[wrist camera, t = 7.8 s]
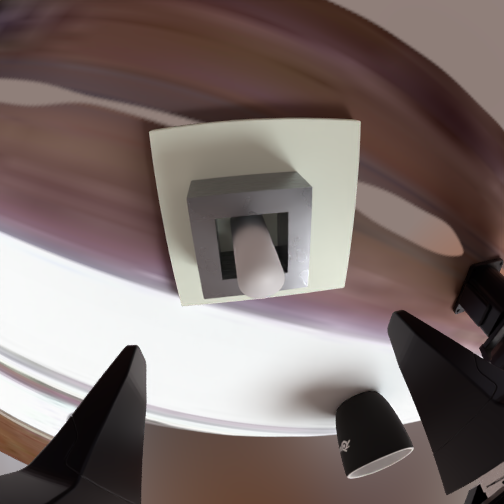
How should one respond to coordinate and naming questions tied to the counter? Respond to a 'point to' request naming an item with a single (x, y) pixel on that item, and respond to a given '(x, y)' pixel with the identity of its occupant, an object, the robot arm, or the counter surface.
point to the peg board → (257, 157)
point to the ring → (244, 204)
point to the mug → (370, 435)
